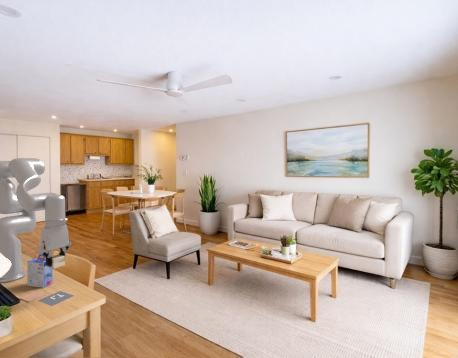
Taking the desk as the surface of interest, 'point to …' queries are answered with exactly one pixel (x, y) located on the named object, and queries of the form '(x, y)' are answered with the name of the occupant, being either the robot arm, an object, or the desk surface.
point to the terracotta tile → (32, 296)
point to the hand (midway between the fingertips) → (55, 263)
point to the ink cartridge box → (39, 273)
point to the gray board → (56, 298)
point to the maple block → (57, 261)
